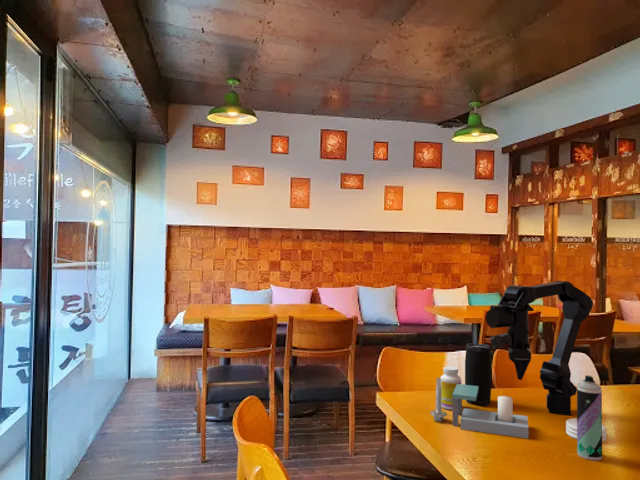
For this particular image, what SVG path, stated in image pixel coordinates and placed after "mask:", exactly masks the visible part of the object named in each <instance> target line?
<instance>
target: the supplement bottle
mask: <svg viewBox="0 0 640 480" xmlns="http://www.w3.org/2000/svg"><path fill="white" fill-rule="evenodd" d="M458 373H459V368H458V367H454V366H444V367H443V374H442V375H441V376H440V379H441V388H442V389H441V390H442V391H441V392H442V393H441V394H442V395H441V396H442V397H441V398H442V399H441V400H442V401H441V402H442V403H441V404H442V405H441V406H442V407H441V408H443V409H445V410H448V411H450V410H452V411H453V392H454V390H455V387H456V385H457V384H462V378H461V376H459V375H458Z"/></svg>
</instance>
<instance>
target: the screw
mask: <svg viewBox="0 0 640 480" xmlns="http://www.w3.org/2000/svg"><path fill="white" fill-rule="evenodd" d="M441 389H442V388H441V377H439V376H438V377H437V378H436V386H435V409H434V410H431V411H430V415H431V416H433V420H434V421H435V422H439V423H440V422H443V421H444V417H447V415H448V414H447V412H445V411H444V410H442V408H443V407H442V406H441V405H442V404H441V403H442V402H441V401H442V400H441V399H442V398H441V397H442V396H441V395H442V394H441V393H442V392H441V391H442V390H441Z"/></svg>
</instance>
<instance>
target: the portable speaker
mask: <svg viewBox="0 0 640 480" xmlns="http://www.w3.org/2000/svg"><path fill="white" fill-rule="evenodd" d="M465 347H466V348H465V359H464V385H472V386H478V394H477V398H476V401H472V400H465V401H466V403H467V404H469V405H472V404H473V403H474V404H480V405H481V406H483V407H486V406H489V405H491V396H492V356H491V354H492V353H491V345H489V344H486V343H481V344H480V343H479V344H476V343H470V342H469V343H466V345H465Z"/></svg>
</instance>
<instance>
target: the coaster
mask: <svg viewBox="0 0 640 480" xmlns="http://www.w3.org/2000/svg"><path fill="white" fill-rule="evenodd" d="M565 433H566V434H567V436H569V437H571V438H572V439H574V440H577V417H575V418H574V417H573V418H569V419H567V420H566V421H565ZM605 441H607V427H606V426H605V425H604V424H603V423H602V443H603V442H605Z"/></svg>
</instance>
